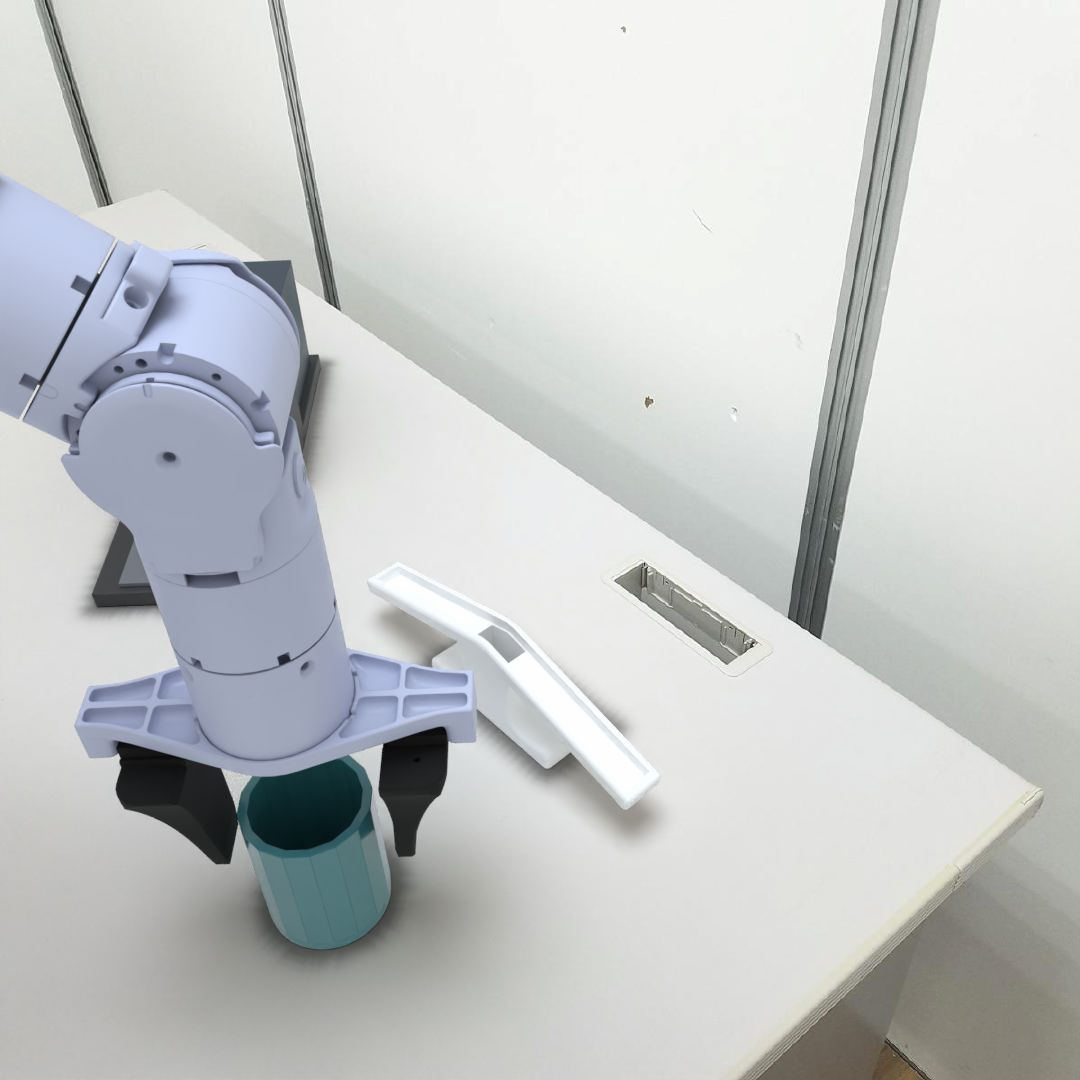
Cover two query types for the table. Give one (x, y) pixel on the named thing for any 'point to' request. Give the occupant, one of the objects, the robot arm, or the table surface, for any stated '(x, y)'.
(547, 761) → the t-shaped cleat
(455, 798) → the table surface
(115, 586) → the coffee maker
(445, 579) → the table surface
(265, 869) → the cup
